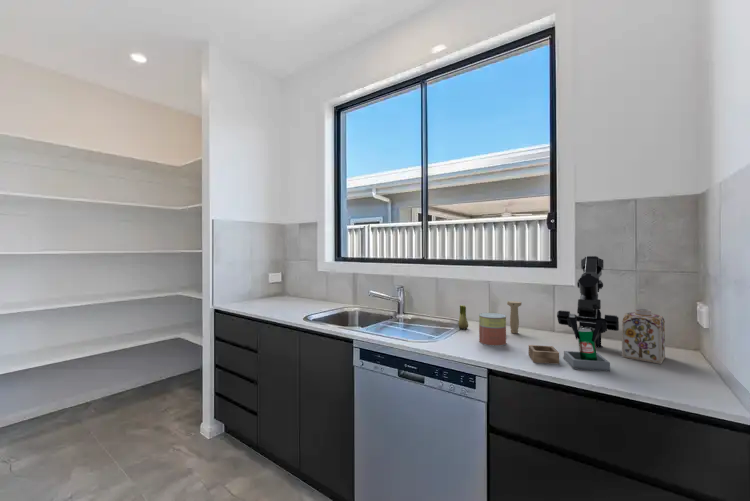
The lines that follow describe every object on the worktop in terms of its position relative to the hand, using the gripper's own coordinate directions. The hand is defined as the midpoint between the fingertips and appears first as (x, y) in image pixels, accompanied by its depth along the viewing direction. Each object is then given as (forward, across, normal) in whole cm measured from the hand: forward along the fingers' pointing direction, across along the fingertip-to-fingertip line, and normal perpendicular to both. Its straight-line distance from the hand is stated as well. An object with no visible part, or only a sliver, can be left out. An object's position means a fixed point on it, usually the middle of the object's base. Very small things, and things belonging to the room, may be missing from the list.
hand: (585, 340), depth 119 cm
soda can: (+5, +1, +7) cm, 8 cm away
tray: (+5, 0, +7) cm, 9 cm away
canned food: (-1, -36, +14) cm, 38 cm away
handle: (-17, -33, +30) cm, 48 cm away
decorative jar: (-10, +16, +23) cm, 30 cm away
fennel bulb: (-13, -56, +26) cm, 64 cm away
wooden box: (+7, -13, +6) cm, 16 cm away
